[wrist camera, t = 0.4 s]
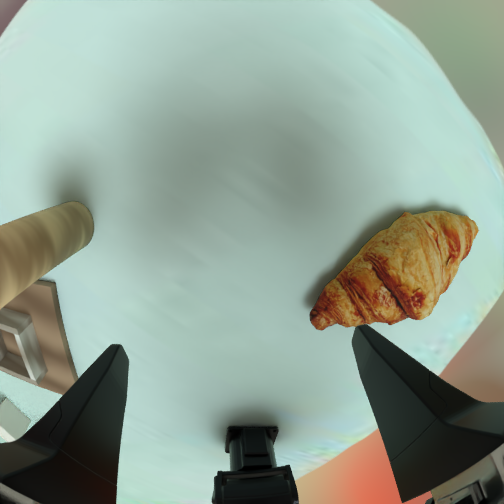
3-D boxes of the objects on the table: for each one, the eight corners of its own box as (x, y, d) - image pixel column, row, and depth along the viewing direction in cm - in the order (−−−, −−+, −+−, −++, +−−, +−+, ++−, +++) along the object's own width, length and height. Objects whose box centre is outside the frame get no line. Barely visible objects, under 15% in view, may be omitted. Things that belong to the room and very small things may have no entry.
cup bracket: (84, 395, 27) (74, 416, 23) (1, 365, 25) (-11, 380, 22) (55, 283, 23) (34, 300, 19) (-29, 265, 21) (-48, 276, 17)
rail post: (94, 251, 22) (5, 324, 10) (57, 247, 22) (-35, 309, 9) (93, 201, 21) (-12, 244, 8) (55, 200, 20) (-50, 238, 8)
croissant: (441, 193, 27) (477, 167, 19) (476, 268, 25) (518, 260, 17) (286, 276, 28) (288, 269, 20) (328, 364, 26) (345, 389, 18)
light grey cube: (22, 425, 30) (11, 446, 24) (0, 403, 28) (-13, 423, 23) (31, 420, 29) (19, 443, 24) (7, 397, 28) (-8, 418, 22)
